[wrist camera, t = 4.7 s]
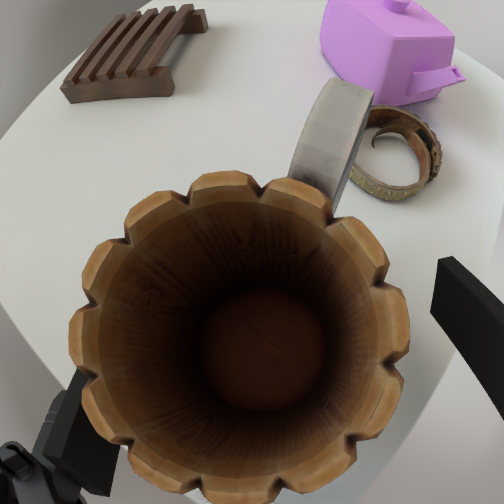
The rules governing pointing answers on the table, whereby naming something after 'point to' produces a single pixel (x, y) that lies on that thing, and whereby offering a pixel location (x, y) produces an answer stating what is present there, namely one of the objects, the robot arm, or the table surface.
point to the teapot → (389, 49)
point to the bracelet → (418, 140)
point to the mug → (246, 325)
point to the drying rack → (131, 56)
